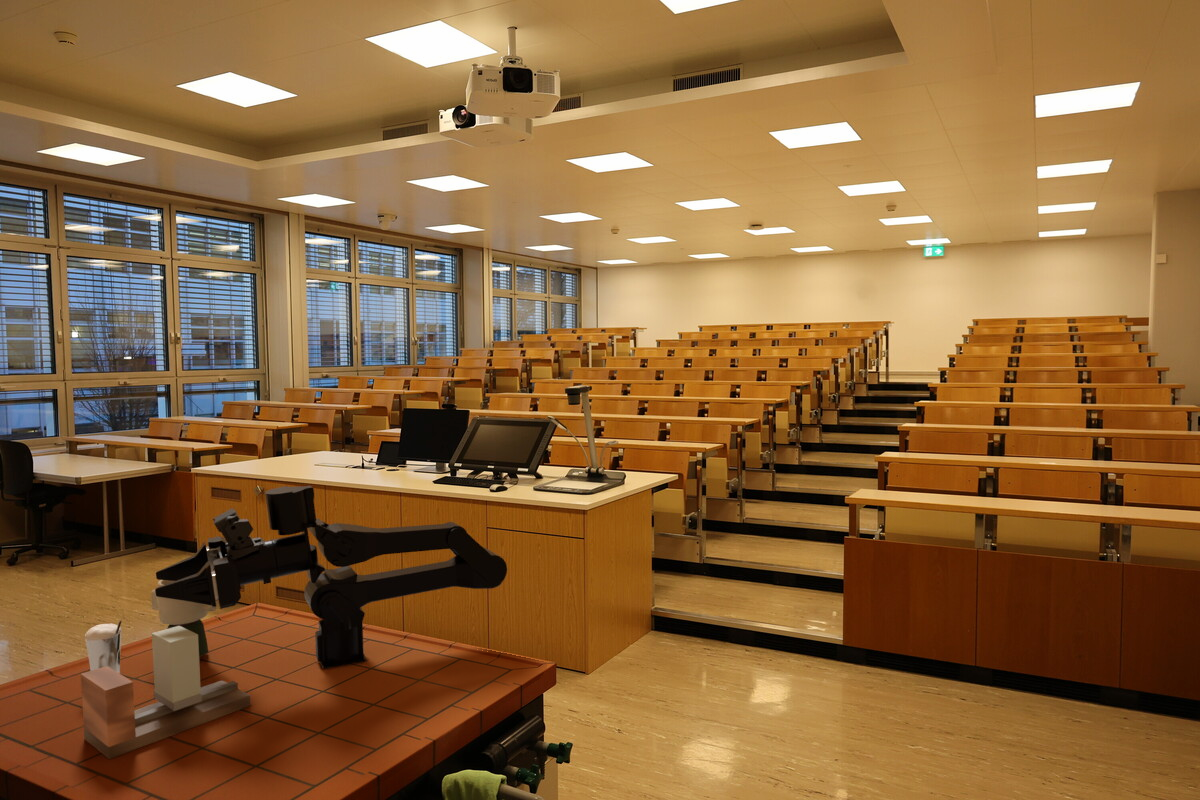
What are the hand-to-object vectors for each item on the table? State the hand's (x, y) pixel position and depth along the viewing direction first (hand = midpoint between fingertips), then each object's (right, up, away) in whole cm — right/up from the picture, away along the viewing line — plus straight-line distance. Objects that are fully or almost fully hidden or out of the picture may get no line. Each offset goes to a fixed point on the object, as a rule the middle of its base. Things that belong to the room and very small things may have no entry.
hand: (155, 583), depth 109 cm
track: (+6, -17, -7) cm, 19 cm away
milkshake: (-9, -16, +4) cm, 19 cm away
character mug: (-3, -16, +14) cm, 21 cm away
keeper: (+7, -14, -6) cm, 17 cm away
